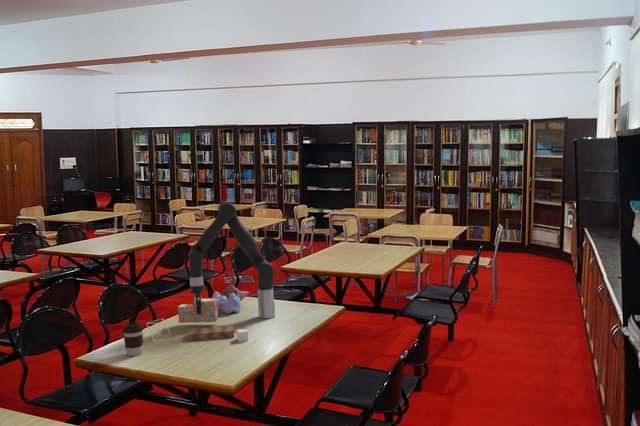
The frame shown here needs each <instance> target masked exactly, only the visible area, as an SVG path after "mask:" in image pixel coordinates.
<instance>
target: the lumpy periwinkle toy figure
mask: <svg viewBox="0 0 640 426" xmlns="http://www.w3.org/2000/svg"><path fill="white" fill-rule="evenodd" d="M249 294H251V292H249V291H243V290H242V291H240V290H239V289H238V288H236V287H235V286H234V285H232V284H231V283H229V284H228V285H227V286H225V287H224V288H223V290H221V291H220V292H218V291H214V294H212V297H211V299H217V310H220V311H221V312H223V313H224V314H225V315H231V313H232V312H233V313H238V312H240V311H241V310H242V307H243V304H242V302H241V301H242V300H244V299H245V298H246V297H248V295H249Z"/></svg>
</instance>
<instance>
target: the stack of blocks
mask: <svg viewBox="0 0 640 426" xmlns="http://www.w3.org/2000/svg"><path fill="white" fill-rule="evenodd" d="M197 305H200V304H197ZM177 312H178V323H179V324H180V323H181V324H182V323H183V324H185V323H216V322H217V321H218V320H219V317H218V314H219V313H218V308H217V299H212V297H211V298H209V297H208V298H201V314H197V307H196V304H195V300H194V301H193V304H192V303H185V304H180V305H179V306H177Z"/></svg>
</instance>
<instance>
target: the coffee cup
mask: <svg viewBox="0 0 640 426" xmlns="http://www.w3.org/2000/svg"><path fill="white" fill-rule="evenodd" d="M121 329H122V331H121V332H122V333H123V339H124V341H123V342H124V347H125V351H126V355H127V356H128V357H136V356H140V355H142V353H143V343H144V341H143V340H144V339H143V338H144V337H143V335H144V334H143V331H144V325H142V324H141V323H139V322H128V323H127V324H125V326H124V327H123V328H121Z"/></svg>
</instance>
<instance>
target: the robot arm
mask: <svg viewBox="0 0 640 426" xmlns="http://www.w3.org/2000/svg"><path fill="white" fill-rule="evenodd" d="M236 210H237V209H236V206H235V205H234V204H233V203H231V202H229V201H223V202H220V204H218V208H217V216H216V217H215V219H214V220H213V221H212V223H210V225H209V226H208V227H207V228H206V229H205V230H204V231H203V233H202V234H201V236H200V237H199V239H198V240H197V241H196V243H195V244H194V245H193V246H191V248H190V250H189V251H188V254H187V257H188V259H189V288H190V293H191V294H192V295H193V299H194V301H195V304H196V307H197V314H201V299H202V293H204V292H205V287H204V278H203V277H204V276H203V253H204V252H205V251H206V250H207V249H209V247H210V246H211V245H212V243H213V242H214V240H215V239H216V237H217V236H218V234H219V233H220V231H221V230H222V229H223V228H224V226H225V225H226V224H227V226H228V228H229V229H230V232H231V233H232V235H233V237H234V239H235V240H236V242H237V244H238V245H239V247H240V248H241V249H242V251H243V252H244V253H245V255H246V256H247V257H248V259H249V260H250V262H251V264H252V265H253V268H254V270H255V272H256V274H257V275H258V283H257V306H258V318H260V319H265V320H266V319H271V318H275V317H276V313H275V312H276V310H275V309H276V308H275V299H274V283H275V282H274V281H275V275H274V273H275V272H274V266H273V265H272V264H271V263H270V262H268V261H267V260H266V258H265V257H264V256H263V254H262V253H261V251H260V249H259V246H258V243H257V241H256V240H255V238H254V236H253V235H252V233H251V231H250V230H249V229H248V228H247V227H246V225H245V224H244V223H243V222H242V221H241V220H240V218H239V217H238V214H237V213H236V212H237V211H236ZM197 304H200V305H197Z"/></svg>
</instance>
